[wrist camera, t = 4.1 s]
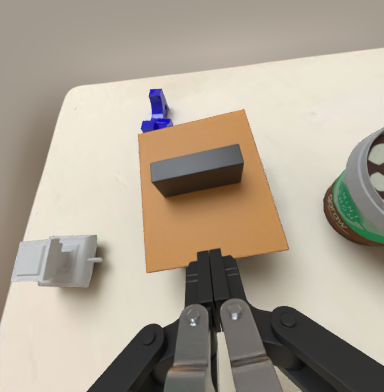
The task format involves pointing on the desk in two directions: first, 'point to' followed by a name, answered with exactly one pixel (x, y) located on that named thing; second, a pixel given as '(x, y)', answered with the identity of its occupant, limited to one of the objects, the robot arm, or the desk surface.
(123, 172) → the desk surface
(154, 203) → the lid
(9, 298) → the desk surface
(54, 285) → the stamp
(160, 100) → the cable holder
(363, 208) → the food container
